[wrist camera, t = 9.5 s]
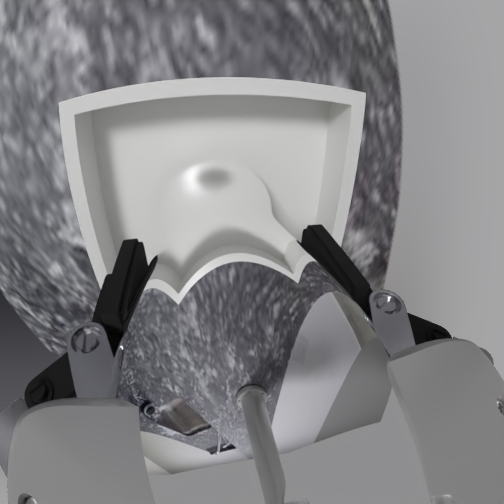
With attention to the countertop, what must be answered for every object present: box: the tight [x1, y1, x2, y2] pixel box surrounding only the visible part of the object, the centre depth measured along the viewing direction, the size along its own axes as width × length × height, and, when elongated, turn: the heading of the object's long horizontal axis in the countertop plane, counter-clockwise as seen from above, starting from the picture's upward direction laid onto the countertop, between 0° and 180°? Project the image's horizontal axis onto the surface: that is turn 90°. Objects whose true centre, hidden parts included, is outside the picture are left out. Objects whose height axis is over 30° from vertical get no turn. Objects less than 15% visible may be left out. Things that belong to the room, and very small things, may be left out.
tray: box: [59, 77, 366, 289], centre depth 15 cm, size 15×15×3 cm
